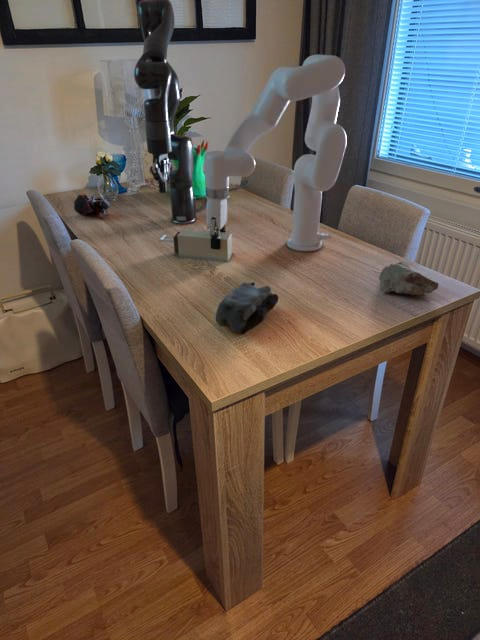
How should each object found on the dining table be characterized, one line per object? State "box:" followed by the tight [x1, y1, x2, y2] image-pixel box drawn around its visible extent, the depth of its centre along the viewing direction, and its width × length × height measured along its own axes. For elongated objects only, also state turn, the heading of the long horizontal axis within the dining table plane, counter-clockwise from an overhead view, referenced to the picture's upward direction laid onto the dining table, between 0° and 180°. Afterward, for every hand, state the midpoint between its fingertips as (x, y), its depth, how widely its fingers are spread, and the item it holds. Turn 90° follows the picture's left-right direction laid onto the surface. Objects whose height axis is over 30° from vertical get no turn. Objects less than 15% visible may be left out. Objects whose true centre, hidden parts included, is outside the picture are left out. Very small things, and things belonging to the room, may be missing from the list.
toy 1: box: [73, 194, 111, 220], centre depth 187 cm, size 12×9×15 cm
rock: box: [215, 281, 279, 335], centre depth 115 cm, size 18×11×8 cm, turn 152°
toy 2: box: [168, 137, 209, 200], centre depth 210 cm, size 20×20×25 cm
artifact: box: [378, 261, 439, 296], centre depth 132 cm, size 18×7×15 cm
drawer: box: [157, 231, 181, 254], centre depth 154 cm, size 22×5×6 cm, turn 77°
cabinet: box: [177, 228, 233, 262], centre depth 153 cm, size 18×6×8 cm, turn 77°
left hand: (163, 192), depth 146 cm, fingers closed
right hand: (218, 244), depth 151 cm, fingers closed on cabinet, 6 cm apart
